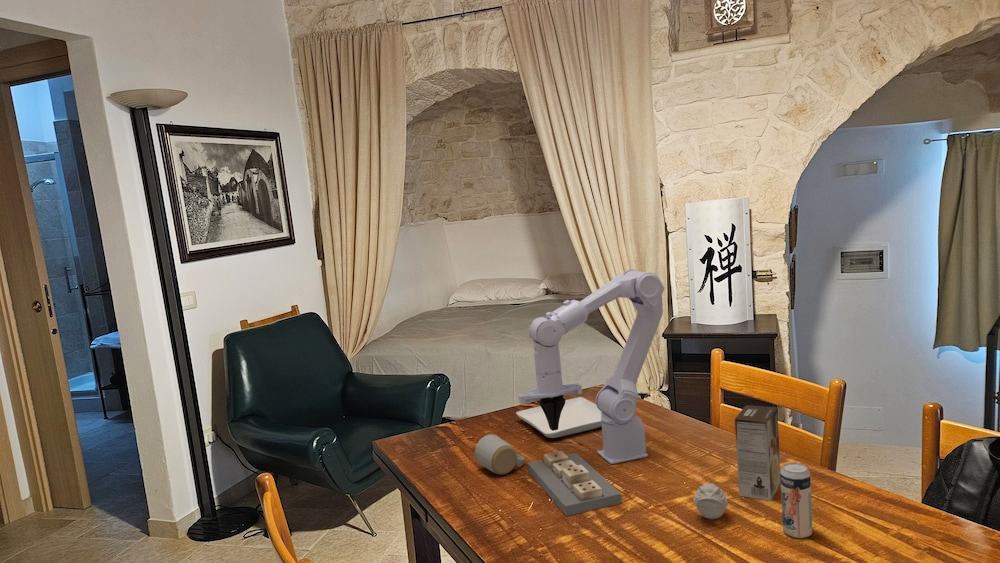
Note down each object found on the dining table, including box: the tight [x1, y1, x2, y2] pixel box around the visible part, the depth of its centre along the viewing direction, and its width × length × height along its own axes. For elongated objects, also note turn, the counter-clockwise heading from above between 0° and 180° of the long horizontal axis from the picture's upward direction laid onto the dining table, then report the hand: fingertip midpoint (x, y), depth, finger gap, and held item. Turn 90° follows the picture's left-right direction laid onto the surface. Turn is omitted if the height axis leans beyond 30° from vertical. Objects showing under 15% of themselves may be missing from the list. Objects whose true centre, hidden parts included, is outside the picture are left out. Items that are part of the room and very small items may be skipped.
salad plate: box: [515, 396, 602, 439], centre depth 185 cm, size 21×21×3 cm
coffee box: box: [734, 404, 781, 502], centre depth 135 cm, size 9×6×16 cm
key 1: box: [543, 450, 569, 469], centre depth 154 cm, size 4×4×3 cm
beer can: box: [780, 462, 814, 539], centre depth 118 cm, size 5×5×12 cm
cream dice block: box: [553, 460, 577, 479], centre depth 149 cm, size 4×4×3 cm
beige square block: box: [573, 480, 602, 502], centre depth 137 cm, size 4×4×3 cm
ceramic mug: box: [474, 434, 525, 476], centre depth 158 cm, size 11×8×8 cm
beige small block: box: [562, 465, 590, 490], centre depth 143 cm, size 4×4×3 cm
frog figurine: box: [693, 482, 729, 520], centre depth 126 cm, size 6×7×7 cm
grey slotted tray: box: [526, 452, 623, 517], centre depth 146 cm, size 12×24×2 cm, turn 16°
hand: (553, 428), depth 154 cm, fingers closed
